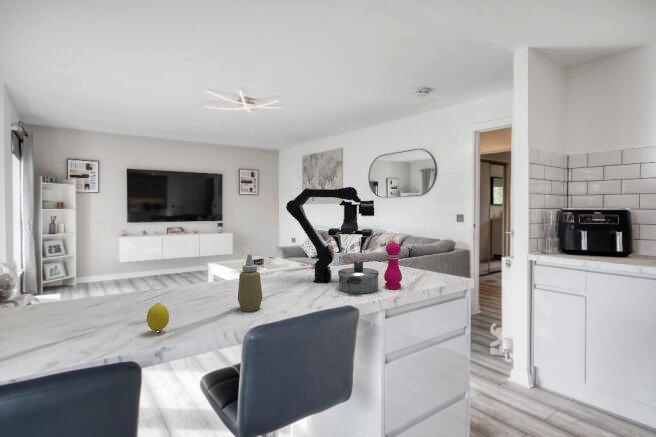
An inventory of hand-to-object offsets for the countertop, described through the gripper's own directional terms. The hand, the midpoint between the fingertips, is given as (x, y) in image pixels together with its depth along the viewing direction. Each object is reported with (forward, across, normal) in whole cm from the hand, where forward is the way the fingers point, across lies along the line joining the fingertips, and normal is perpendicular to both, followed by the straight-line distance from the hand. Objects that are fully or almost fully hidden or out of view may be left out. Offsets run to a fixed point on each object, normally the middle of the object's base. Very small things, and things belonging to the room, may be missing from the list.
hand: (350, 252), depth 162 cm
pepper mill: (+13, +19, -6) cm, 24 cm away
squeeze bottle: (+13, -23, -48) cm, 55 cm away
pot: (+13, +6, -12) cm, 19 cm away
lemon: (+13, -37, -74) cm, 84 cm away
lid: (+8, +6, -12) cm, 16 cm away
